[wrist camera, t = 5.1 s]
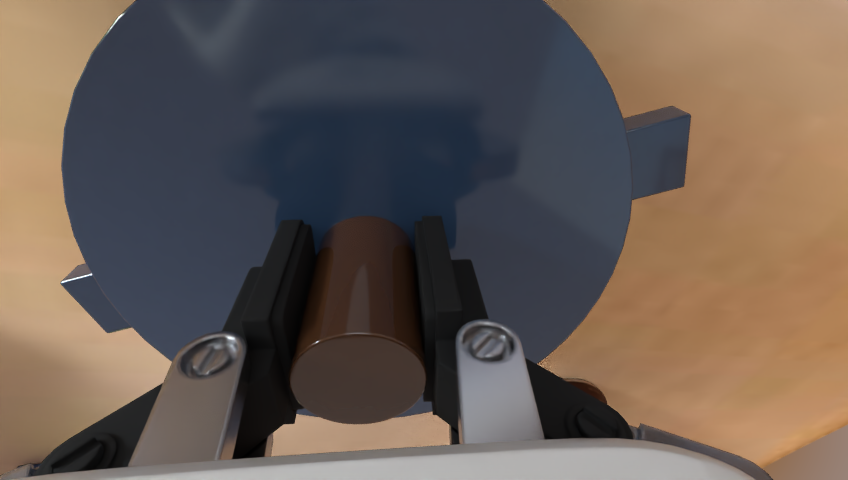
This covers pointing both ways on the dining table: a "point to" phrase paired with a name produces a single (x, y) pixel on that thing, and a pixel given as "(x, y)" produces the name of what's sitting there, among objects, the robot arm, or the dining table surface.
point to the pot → (652, 173)
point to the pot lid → (347, 174)
